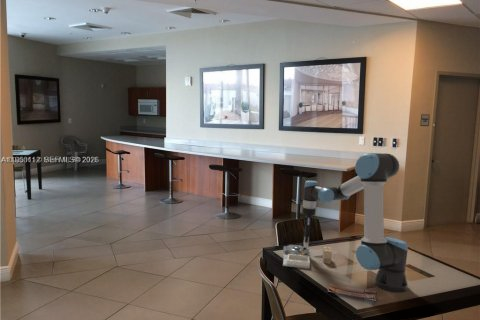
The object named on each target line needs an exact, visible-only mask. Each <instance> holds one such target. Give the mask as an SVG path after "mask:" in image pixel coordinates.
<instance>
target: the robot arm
mask: <svg viewBox="0 0 480 320" xmlns="http://www.w3.org/2000/svg"><path fill="white" fill-rule="evenodd" d="M354 170H355V174H357V176H355V177H353V178H351V179H349V180H347V181H345V182H344V183H342V184H340V185H338V186H328V187H327V186H326V187H325V186H319V182H318V181H316V180H306V181H305V182H304V186H303V199H302V210H301V211H302V212H301V213H302V214H303V215H305V216H304V234H303V236H302V237H303V246H302V247H304V248H308V249H309V242H310V236H311V234H310V232H311V225H312V222H313V221H312V220H313V218H312V217H311V216H316V211H317V210H316V207H317V205H318V202H317V200H318V201H321V202H322V203H331V202H332V201H344V200H345V201H346V200H349V198H350V197H351V196H352V195H354V194H356V193H358V192H360V191H362V190H363V207H364V208H363V216H364V217H363V218H364V220H363V223H364V224H363V228H364V233H363V234H364V236H363V237H361V239H360V245H359V246H358V247H357V248H356V250H355V258H356V260H357V262H358V264H359V265H360V266H361V267H362V268H363V269H364V270H367V271H377V272H376V274H375V277H374V281H373V282H374V285H375V286H377V287H379V288H380V289H382V290H385V291H389V292H396V293H402V292H406V291H408V280H407V275H406V267H407V259H408V258H407V257H408V247H409V246H408V243H407V242H406V241H405V240H404V241H403V240H401V239H398V238H394V237H390V236H385V235H384V233H385V232H384V231H385V230H384V228H385V227H384V225H385V223H384V214H385V213H384V186H385V184H387V183H388V181H387V180H388V179H390V178H393V177H394V176H396V175H397V174H398V172H399V170H400V162H399V160H398V158H397V157H396V156H395V155H393V154H391V153H379V152H378V153H374V152H371V153H370V152H368V153H364V154H362V155H360V156H359V158H357V159H356V162H355V166H354Z"/></svg>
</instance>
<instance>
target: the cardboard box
mask: <svg viewBox="0 0 480 320" xmlns="http://www.w3.org/2000/svg"><path fill="white" fill-rule="evenodd" d="M332 253H333V251H332V248H331V247H329V246H323V251H322V262H323V264H329V265H331V264H332V255H333V254H332Z"/></svg>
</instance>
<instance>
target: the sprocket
mask: <svg viewBox="0 0 480 320" xmlns="http://www.w3.org/2000/svg"><path fill="white" fill-rule="evenodd" d="M282 248H283V254H284V253H287V254H295V255H304V256H305V255H309V256H310V255H311V251H310V248H309V247H308V248H304V247H303V246H302V245H296V244H289V245H287V246H285V245H284V246H283V247H282Z"/></svg>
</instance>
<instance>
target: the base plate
mask: <svg viewBox="0 0 480 320" xmlns="http://www.w3.org/2000/svg"><path fill="white" fill-rule="evenodd" d="M282 267H289V268H290V267H291V268H299V269H300V268H301V269H306V270H307V269H308V270H310V267H311V261H310V255H305V256H304V255H295V254H287V253H284V252H283V262H282Z"/></svg>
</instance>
